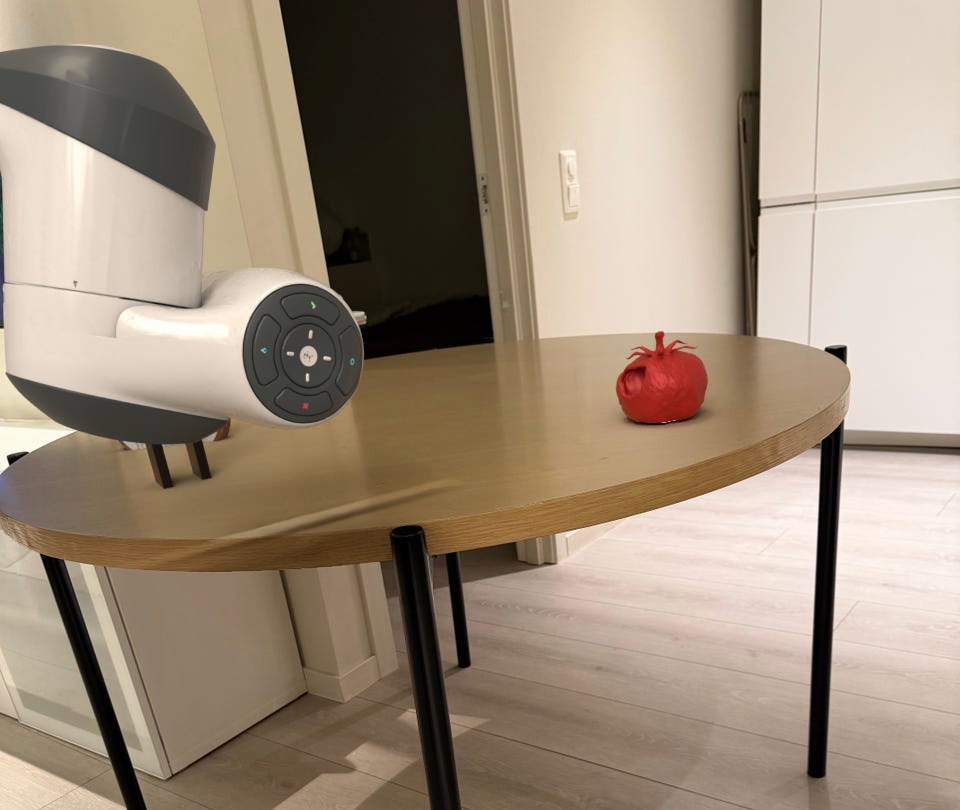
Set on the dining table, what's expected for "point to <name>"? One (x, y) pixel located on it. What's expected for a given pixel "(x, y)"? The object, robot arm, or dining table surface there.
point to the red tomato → (662, 384)
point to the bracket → (161, 466)
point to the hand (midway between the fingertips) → (187, 335)
